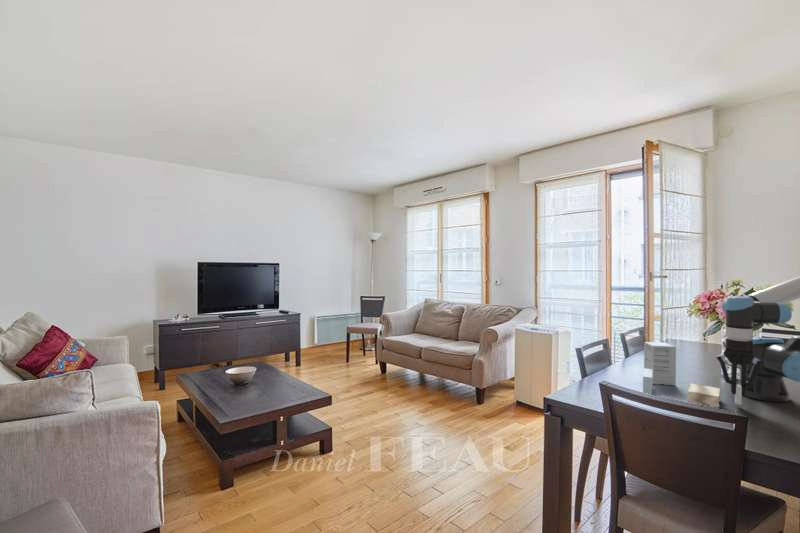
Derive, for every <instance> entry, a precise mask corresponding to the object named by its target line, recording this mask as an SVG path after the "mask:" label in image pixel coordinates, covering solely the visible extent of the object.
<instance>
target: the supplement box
mask: <svg viewBox="0 0 800 533" xmlns="http://www.w3.org/2000/svg"><path fill="white" fill-rule="evenodd" d="M676 348H677V346H675V345H672V344H670V343H668V342H662V341H661V342H660V341H659V342H658V341H657V342H656V341H654V342H653V341H644V343H643V351H644V352H643V354H644V355H643V356H644V357H643V358H644V361H643V369H644V368H646V369H653V379H652V385H660V384H664V386H676V385H677V384H676V381H677V380H676V379H677V378H676V377H677V376H676V375H677V373H676V372H677V369H676V368H677V363H676V362H677V361H676V360H677V359H676V357H677V356H676V355H677V351H676Z"/></svg>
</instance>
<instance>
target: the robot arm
mask: <svg viewBox="0 0 800 533" xmlns="http://www.w3.org/2000/svg"><path fill="white" fill-rule="evenodd" d="M799 299H800V276H797V277H794V278H791V279H788V280H785V281H784V282H780V283H777V284H775V285H773V286H769V287H766V288H764V289H760V290H758V291H755V292H753V293H750V294H747V295H744V296H735V295H734V296H728V297H727V298H726V299H725V300H723V302H722V304H721V309H722V312H723V313H724V314H725V337H726V338H725V349H724V351H723V353H721V354H716V356H715V357H716V359H717V360H718V362H719V364H720V368H721V371H722V375H723V378H724V381H725V383H726V384H730V388H731V389H730V390H731V391H730V392H731V394H733V395H734V403H735V405H739V406H740V405H741V406H742V396H745V397H747V398H750V399H754V400H758V401H759V400H760V401H765V402H773V403H786V402H789V401H790V393H789V390H788V387H787V385H786V383H785V380H784V378H786V379H788V380H791V381H794V382H798V383H800V335H799V336H791V337H790V338H789V339H788V340H787V341H786V342H784V339H783V338H775V337H755V336H754V324H775V325H778V324H786V323H788V322H790V321H791V319H792V317H793V316H792V315H793V312H792V309H791V307H790V306H789V305H788V304H787V303H790V302H792V301H796V300H799ZM726 359H727V360H728V361H729V363H730V364H731V365H730V376H729V372H728V369H727V367H726V363H725V361H726ZM738 365H739V367H740V369H739V370H740V371H739V372H740V374H739V376H740V377H739V382H738V384H737V381H738V380H737V377H738V374H737V370H738Z"/></svg>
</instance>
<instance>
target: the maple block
mask: <svg viewBox="0 0 800 533" xmlns="http://www.w3.org/2000/svg"><path fill="white" fill-rule="evenodd" d="M688 402H691V403H695V404H702V405H707V406H710V405H712V406H715V407H719V408H720V404H719V402H720V403H721V387H716V386H714V387H713V386H709V385H703V384H697V383H691V382H690V384H689V387H688V390H687V403H688Z"/></svg>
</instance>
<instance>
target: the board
mask: <svg viewBox="0 0 800 533" xmlns="http://www.w3.org/2000/svg"><path fill="white" fill-rule="evenodd" d="M642 376H643V377H642V393H643V392H644V393H648V394H652V395H653V384H652V379H653V369H646V368H644V367H643V374H642Z"/></svg>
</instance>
